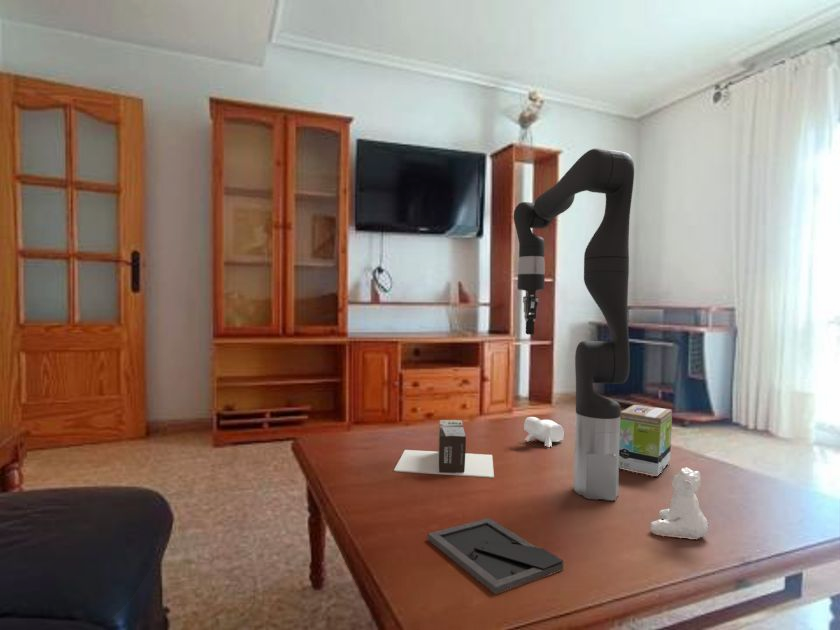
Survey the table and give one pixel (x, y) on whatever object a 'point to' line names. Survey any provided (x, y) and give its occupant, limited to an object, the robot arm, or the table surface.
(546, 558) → the picture frame
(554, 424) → the white animal figurine
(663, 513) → the seated beast figurine
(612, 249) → the robot arm
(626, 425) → the tea box
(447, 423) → the coffee box
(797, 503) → the table surface
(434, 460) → the flat white rectangular panel
